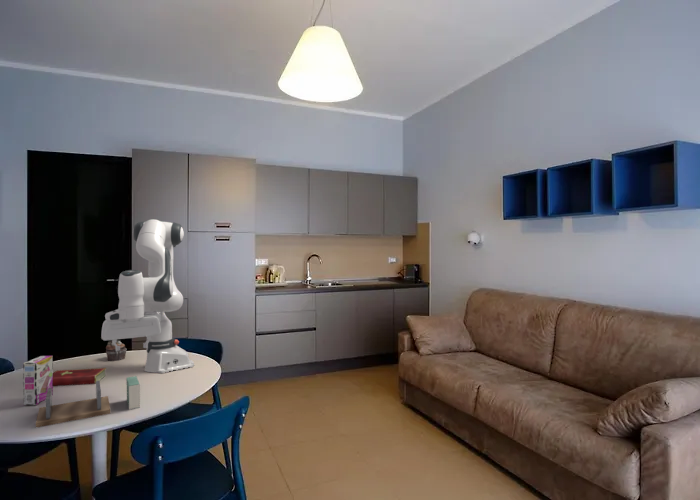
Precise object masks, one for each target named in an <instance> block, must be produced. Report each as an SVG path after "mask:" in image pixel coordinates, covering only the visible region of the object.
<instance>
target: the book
mask: <svg viewBox="0 0 700 500" xmlns="http://www.w3.org/2000/svg"><path fill="white" fill-rule="evenodd" d="M125 380H126V403H127V405H128V409H129V410H134V409H140V408H141V387H140V386H141V385H140V382H139V380H138V377H137V376H136V375H134V376H128V377H126V379H125Z"/></svg>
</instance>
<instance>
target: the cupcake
mask: <svg viewBox="0 0 700 500" xmlns="http://www.w3.org/2000/svg"><path fill="white" fill-rule="evenodd" d="M115 343H116V344H117V346H120V351H116V347H115V346H114V344H113V343H112V340H108V342H107V345H106V347H105V349H106V350H105V354H106V358H107V360H108V362H115V361H116V362H119V361H123V360H125V359H126V354H127V348H126V345H125V344H124V343H122V342H121V340H120V339H117V342H115Z"/></svg>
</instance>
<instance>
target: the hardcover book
mask: <svg viewBox="0 0 700 500" xmlns="http://www.w3.org/2000/svg"><path fill="white" fill-rule="evenodd" d="M106 370H107V367H98V368H97V367H96V368H79V369H61V370H60V369H59V370H58V369H57V370H54V371H53V387H63V386H77V385H78V386H80V385H96V381H101V380H102V379H103V378H104V377H106Z"/></svg>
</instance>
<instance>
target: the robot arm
mask: <svg viewBox="0 0 700 500" xmlns="http://www.w3.org/2000/svg"><path fill="white" fill-rule="evenodd" d="M183 228H184V227H183V226H182V224H181V223H177V222H170V221H161V220H158V219H156V218H155V219H153V218H152V219H148V220H146V221H138V222H137V223H135V225H134V226H133V229H132V236H133V240H134V241H135V243H136V244H135V250H136V253H137V254H138V255H139V256H140V257H141V258H142V259H144V260H146V261H148V267H147V274H148V277H143V273H142V271H141V270H138V269H128V270H125V271H124V270H123V271H122V272H121V273H120V274H119V277H118V285H117V287H118V288H117V294H118V295H117V296H118V299H119V300H118V308H117V309H115V310H111V311H109V312H106V313H105V315H104V317H105V320H104V321H103V323H102V327H101V337H100V338H101V340H103V341H104V342H105V341H112V343H113V344H114V346H115V347H116V351H120V346H117V344H116V343H115V342H117V340H125V339H134V338H144V337H146V341H145V342H143V343H142V345H143V346H142V348H143V349H146V362H145V366H144V370H143V371H145V372H146V373H147V372H148V373H158V374H166V373H170V372H169V371H171V372H174V371H173V370H176V371H179V370H178V369H181V370H183V369H182V368H185V369H189V368H188V367H190V368H193V367H194V366H195V363H194V362H195V361H194V360H192V359H190V357H189V353H188V351H186V350H185V349H183V348H181V347H180V346H178V345H179V343H180V341H179V340H178V339H176V338H174V337H173V324H172V323H173V322H172V321H171V319H170V318H168V317H167V315H166V313H169V312H171V313H172V312H176V311H178V310H180V309H181V308H182V306H183V305H184V304H183V303H184V296H183V294H182V293H181V291H180V290H179V289H178V287H177V285H176V283H175V279H174V248H176V246H178V245H179V244H181V243H182V242H183V239H184V235H185V232H184V229H183ZM165 312H166V313H165ZM165 372H166V373H165Z"/></svg>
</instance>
